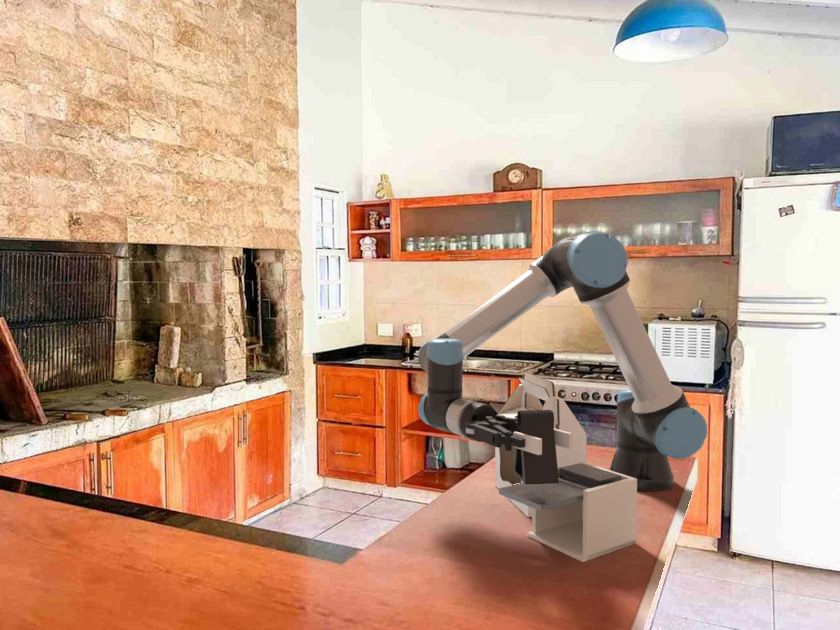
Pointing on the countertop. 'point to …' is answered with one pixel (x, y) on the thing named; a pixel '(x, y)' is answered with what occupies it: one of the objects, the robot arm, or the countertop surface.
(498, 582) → the countertop surface
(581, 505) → the frame
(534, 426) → the phone stand
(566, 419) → the gable box
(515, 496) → the trapdoor
